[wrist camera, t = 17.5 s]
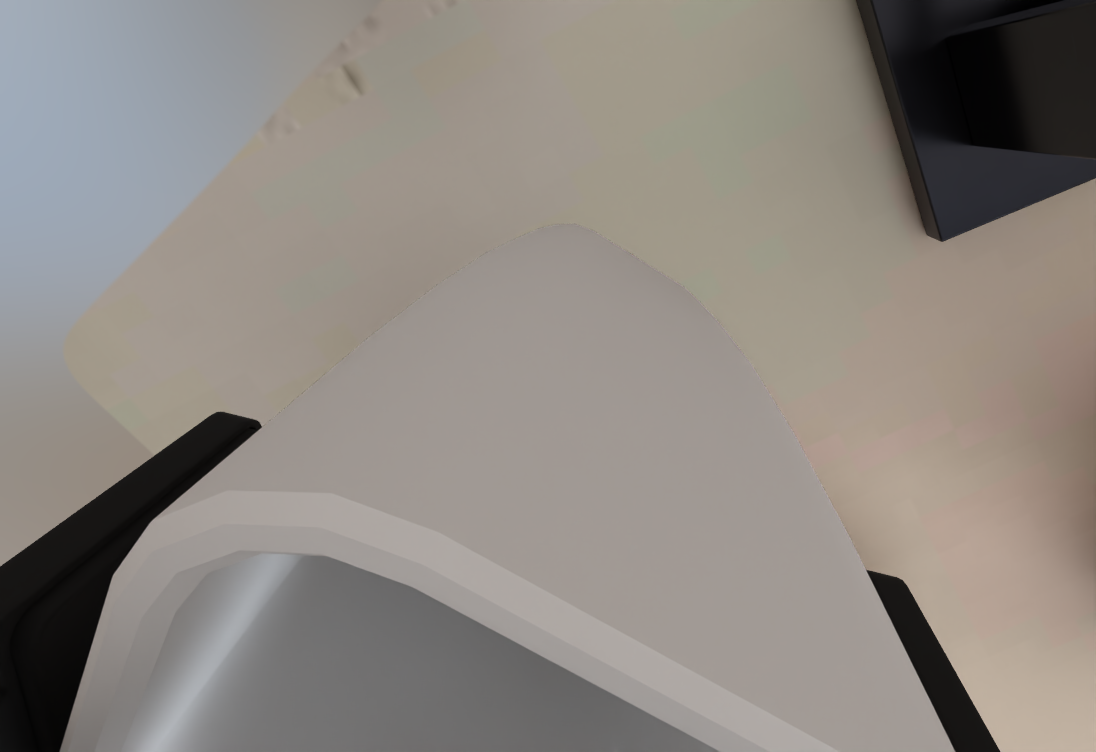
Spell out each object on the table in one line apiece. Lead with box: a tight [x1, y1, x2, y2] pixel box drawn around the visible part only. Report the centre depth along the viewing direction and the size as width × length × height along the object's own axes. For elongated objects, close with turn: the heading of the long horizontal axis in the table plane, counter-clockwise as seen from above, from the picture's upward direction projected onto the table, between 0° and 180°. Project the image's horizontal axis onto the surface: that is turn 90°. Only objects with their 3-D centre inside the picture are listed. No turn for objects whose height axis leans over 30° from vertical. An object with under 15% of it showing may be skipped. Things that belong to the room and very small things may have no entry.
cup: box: [60, 224, 955, 752], centre depth 12 cm, size 7×7×15 cm
